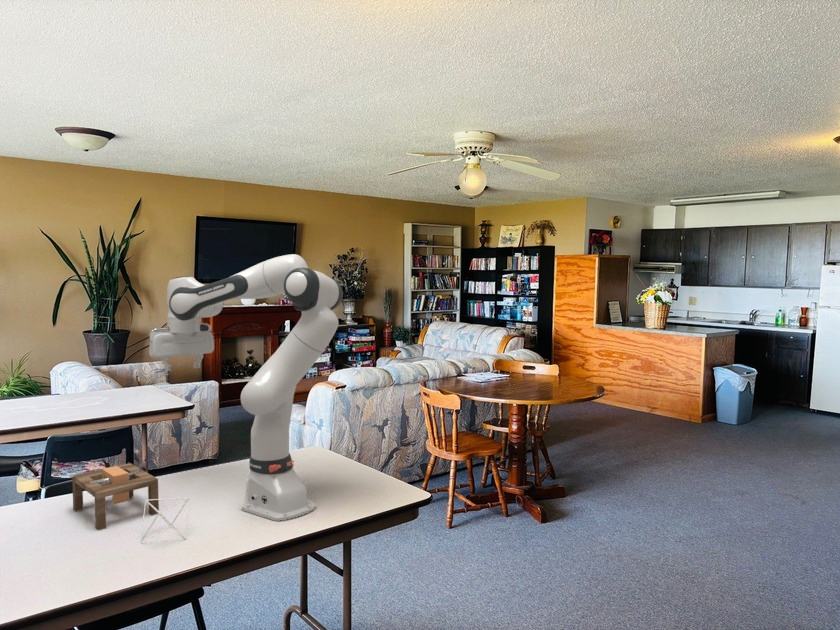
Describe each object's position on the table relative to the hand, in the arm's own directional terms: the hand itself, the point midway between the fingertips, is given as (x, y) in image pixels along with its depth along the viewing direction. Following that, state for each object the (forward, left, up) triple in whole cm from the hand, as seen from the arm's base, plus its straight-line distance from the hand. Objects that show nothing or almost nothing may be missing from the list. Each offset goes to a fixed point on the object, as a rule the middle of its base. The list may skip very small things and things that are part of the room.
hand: (182, 369), depth 193 cm
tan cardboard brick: (-10, +25, -33) cm, 43 cm away
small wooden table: (-10, +25, -37) cm, 46 cm away
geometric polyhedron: (-36, +22, -37) cm, 56 cm away
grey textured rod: (-10, +25, -28) cm, 39 cm away
